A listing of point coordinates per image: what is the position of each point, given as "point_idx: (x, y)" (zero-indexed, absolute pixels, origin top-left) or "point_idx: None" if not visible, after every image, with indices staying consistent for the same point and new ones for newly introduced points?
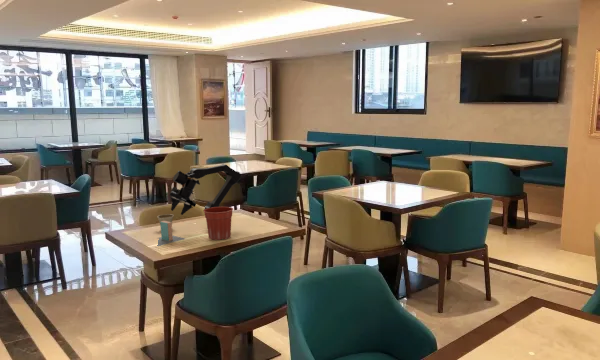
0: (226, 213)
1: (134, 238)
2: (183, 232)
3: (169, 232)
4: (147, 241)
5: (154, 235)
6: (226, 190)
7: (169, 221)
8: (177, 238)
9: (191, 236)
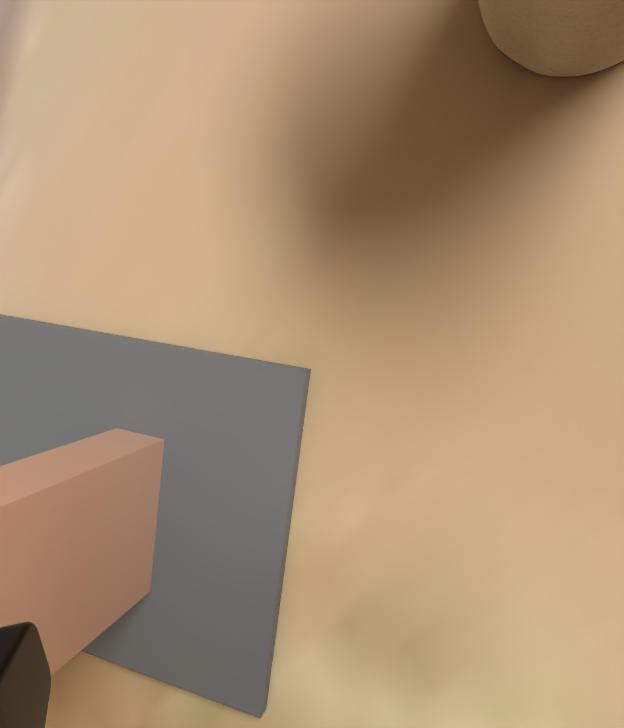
0: None
1: (20, 32)
2: (559, 419)
3: None
4: (18, 308)
5: (225, 138)
6: None
7: (586, 15)
8: (218, 607)
9: (422, 689)
